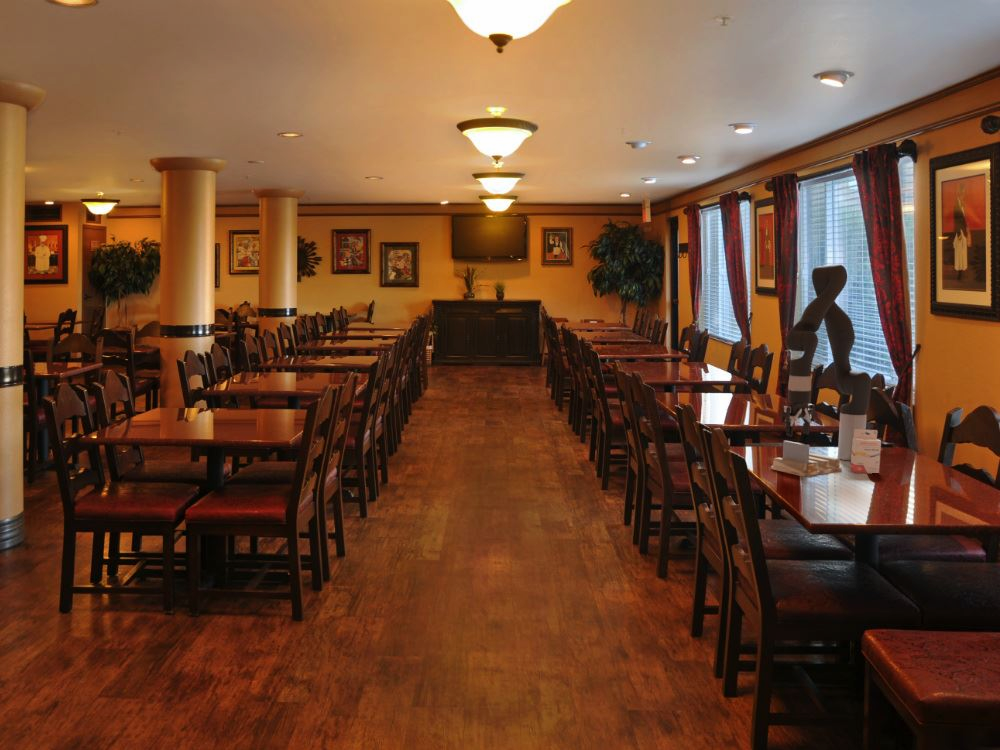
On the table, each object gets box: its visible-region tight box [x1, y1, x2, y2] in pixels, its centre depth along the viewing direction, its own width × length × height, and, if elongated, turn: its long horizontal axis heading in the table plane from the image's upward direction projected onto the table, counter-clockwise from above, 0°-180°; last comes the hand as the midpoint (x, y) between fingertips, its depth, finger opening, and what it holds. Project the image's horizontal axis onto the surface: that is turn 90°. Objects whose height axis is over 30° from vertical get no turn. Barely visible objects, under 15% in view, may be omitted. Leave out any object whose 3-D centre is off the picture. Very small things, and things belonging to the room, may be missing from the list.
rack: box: [770, 453, 843, 477], centre depth 324 cm, size 20×14×4 cm
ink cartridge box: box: [850, 429, 882, 474], centre depth 321 cm, size 9×5×15 cm, turn 84°
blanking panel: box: [782, 440, 810, 471], centre depth 320 cm, size 2×10×9 cm, turn 32°
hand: (797, 435), depth 319 cm, fingers open, 8 cm apart
